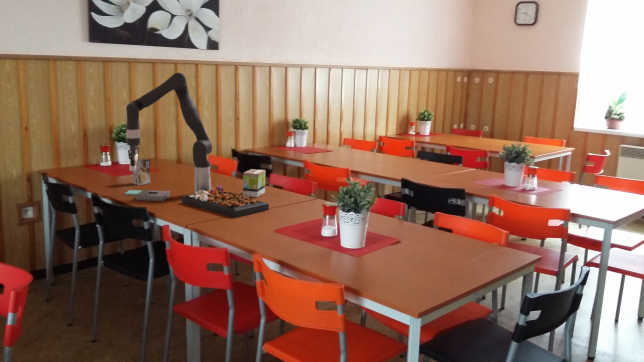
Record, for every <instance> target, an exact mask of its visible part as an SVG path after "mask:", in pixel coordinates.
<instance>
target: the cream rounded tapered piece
mask: <svg viewBox="0 0 644 362" xmlns="http://www.w3.org/2000/svg"><path fill="white" fill-rule="evenodd" d="M133 155H134V154H133ZM137 159H139V157H138V154H136V156H135V166H131V160H130V159H129V169H128V170H129V172H133V171H136V165H137Z"/></svg>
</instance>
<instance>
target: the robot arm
mask: <svg viewBox="0 0 644 362" xmlns="http://www.w3.org/2000/svg"><path fill="white" fill-rule="evenodd" d="M172 91H174V92H175V94H176V96H177V98H178V99H177V100H178V103H179V107H180V110H181V114H182V117H183V119H184V122H185V124H186V125H187V127H188V128H189V129H190V130H191V131H192V132H193V134H194V136H195V138H196V141H195V142H194V143H193V146H192V162H193V165H194V194H195V193H196V192H198V191H203V190H205V191H210V190H211V189H212V188H211V186H212V178H211V163H210V161H208V158H207V157H208V156H207V155H209V154H212V151H213V144H212V142H211V139H210V138H209V136H208V133H207V132H206V130H205V127H204V124H203V122H202V119H201V115H200V113H199V110H198V108H197V106H196V103H195V102H194V100H193V98H192V97H191V95H190V91H189V87H188V84H187V77H186V75H184V73H181V72H174V73H173V74H172V75H171V76H170V77H168V78H167V79H166V80H164V82H162V83H161V84H160V85H158V86H157V87H155V88H154V89H151V90H150V91H148V92H147V93H145V94H143V95H141V96H140V97H138V98H137V99H135V100H133V101H131V102H128V104H126V109H125V111H126V145H127V146H129V149H128V150H127V155H128V160H129V161H130V160H131V166H135V156H136V154H138V158H139V157H140V145H141V133H140V121H139V119H140V112H141V111H142V110H143V109H145V108H149V107H151V105H153V104H155V103H157V102H158V101H160V99H162V98H163V97H165V96H166V95H167V94H169V93H170V92H172ZM138 146H139V147H138ZM133 154H134V155H133Z"/></svg>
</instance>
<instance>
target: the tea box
mask: <svg viewBox="0 0 644 362" xmlns="http://www.w3.org/2000/svg"><path fill="white" fill-rule="evenodd" d="M266 174H267V173H266V169H256V168H255V169H254V168H253V169H252V168H250V169H249V170H246V171H245V172H243V176H242V177H243V178H242V182H243V183H242V195H244V196H245V195H247V196H248V197H249V198H251V197H252V198H258V197H259V196H262V195H263V194H265V193H266Z"/></svg>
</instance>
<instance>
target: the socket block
mask: <svg viewBox="0 0 644 362" xmlns="http://www.w3.org/2000/svg"><path fill="white" fill-rule="evenodd" d="M170 197H171V191H170V190H156V189H155V190H153V189H151V190H150V189H143V190H142V191H141V192H140V193H138V194H137V195H135V201H143V202H144V201H149V202H150V201H151V202H165V201H166V200H168V198H170Z"/></svg>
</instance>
